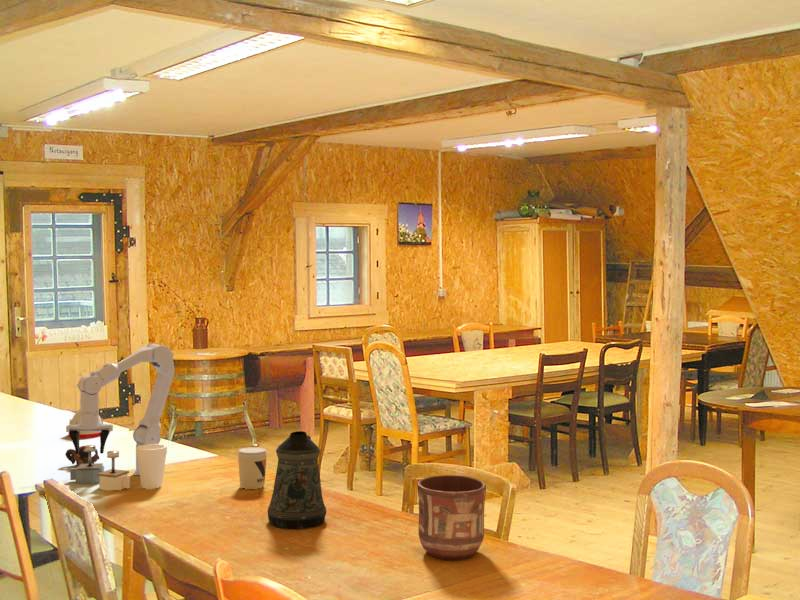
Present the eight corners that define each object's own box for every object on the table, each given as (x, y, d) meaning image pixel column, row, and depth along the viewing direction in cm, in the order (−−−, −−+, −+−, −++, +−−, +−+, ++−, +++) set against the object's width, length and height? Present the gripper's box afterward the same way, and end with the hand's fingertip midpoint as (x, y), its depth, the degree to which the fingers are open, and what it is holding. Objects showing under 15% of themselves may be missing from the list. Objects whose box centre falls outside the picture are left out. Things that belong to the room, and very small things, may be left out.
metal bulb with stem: (96, 466, 315) (96, 444, 315) (94, 468, 312) (94, 447, 311) (85, 466, 315) (85, 445, 314) (83, 468, 311) (83, 447, 311)
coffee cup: (261, 491, 302) (261, 453, 302) (233, 489, 304) (233, 452, 303) (270, 484, 311) (271, 447, 311) (243, 482, 313) (243, 446, 313)
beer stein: (271, 531, 258) (271, 440, 257) (262, 512, 277) (262, 427, 276) (331, 527, 263) (332, 437, 261) (318, 509, 281) (319, 425, 280)
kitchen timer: (96, 430, 401) (95, 395, 400) (109, 435, 391) (109, 399, 390) (63, 434, 392) (63, 398, 391) (76, 439, 382) (75, 402, 381)
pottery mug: (101, 464, 341) (104, 446, 337) (91, 481, 332) (94, 463, 328) (68, 455, 340) (70, 437, 336) (58, 472, 332) (60, 454, 328)
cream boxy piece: (93, 489, 302) (93, 473, 302) (111, 483, 310) (111, 468, 310) (120, 492, 298) (120, 476, 298) (137, 486, 306) (137, 471, 306)
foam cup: (144, 492, 300) (143, 451, 299) (131, 486, 307) (131, 446, 306) (171, 487, 306) (171, 447, 305) (159, 482, 313) (159, 442, 312)
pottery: (401, 552, 242) (402, 482, 241) (447, 538, 254) (449, 471, 253) (452, 569, 229) (454, 496, 228) (499, 554, 241) (500, 483, 240)
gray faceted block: (105, 477, 318) (105, 462, 318) (101, 483, 310) (100, 468, 309) (73, 478, 317) (73, 463, 316) (68, 484, 308) (67, 469, 308)
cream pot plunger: (104, 474, 303) (104, 452, 303) (112, 472, 307) (112, 450, 306) (114, 475, 302) (113, 453, 302) (121, 473, 305) (121, 451, 305)
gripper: (114, 409, 317) (114, 450, 318) (69, 410, 315) (69, 450, 316) (110, 413, 310) (111, 454, 311) (64, 413, 308) (64, 455, 309)
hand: (89, 453), depth 313 cm, fingers open, 7 cm apart
